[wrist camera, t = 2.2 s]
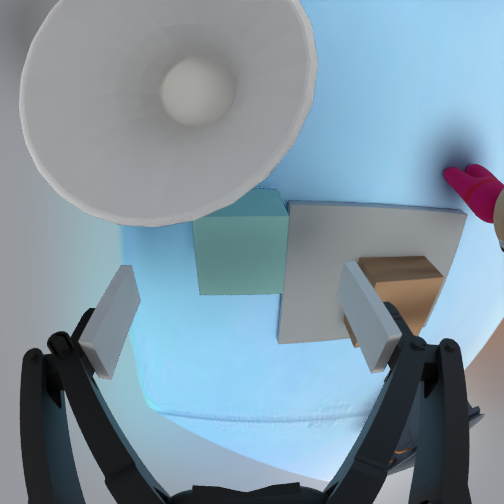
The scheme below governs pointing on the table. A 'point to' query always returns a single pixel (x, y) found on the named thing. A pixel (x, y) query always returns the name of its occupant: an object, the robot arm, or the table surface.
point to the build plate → (352, 256)
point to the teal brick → (243, 246)
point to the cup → (165, 102)
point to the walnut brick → (402, 287)
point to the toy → (480, 194)
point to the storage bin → (408, 440)
